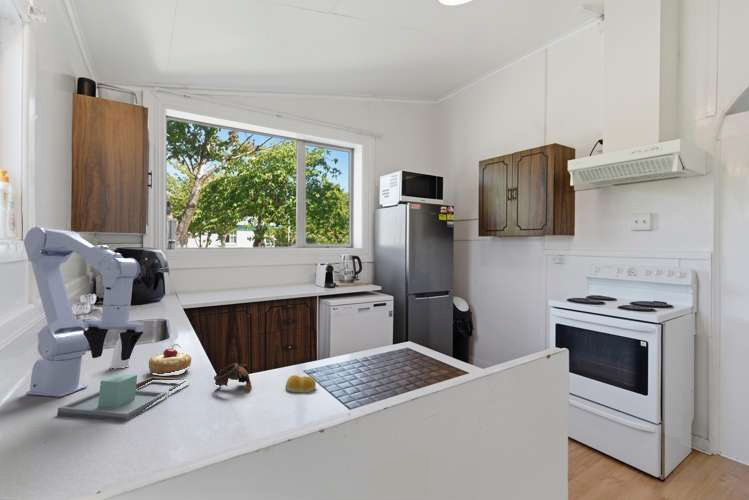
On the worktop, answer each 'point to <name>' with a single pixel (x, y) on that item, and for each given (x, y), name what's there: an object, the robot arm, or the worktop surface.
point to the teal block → (117, 390)
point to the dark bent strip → (158, 379)
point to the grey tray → (90, 409)
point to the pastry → (169, 362)
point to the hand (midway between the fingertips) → (111, 358)
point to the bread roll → (300, 384)
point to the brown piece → (234, 375)
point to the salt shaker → (118, 356)
